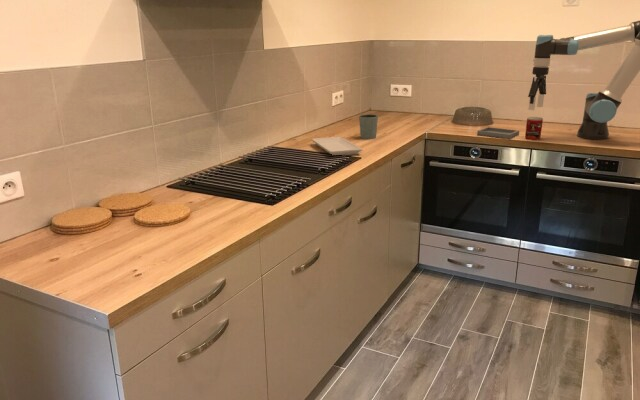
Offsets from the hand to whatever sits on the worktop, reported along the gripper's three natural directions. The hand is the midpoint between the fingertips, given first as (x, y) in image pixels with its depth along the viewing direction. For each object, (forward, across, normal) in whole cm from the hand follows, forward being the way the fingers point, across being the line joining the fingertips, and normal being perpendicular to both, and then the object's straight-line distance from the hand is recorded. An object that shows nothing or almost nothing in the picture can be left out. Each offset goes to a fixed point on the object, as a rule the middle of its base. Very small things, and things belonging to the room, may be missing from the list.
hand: (535, 108), depth 274 cm
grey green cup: (+17, +49, -72) cm, 88 cm away
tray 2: (+16, +2, -18) cm, 24 cm away
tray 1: (+18, +82, -68) cm, 108 cm away
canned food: (+16, 0, 0) cm, 16 cm away
